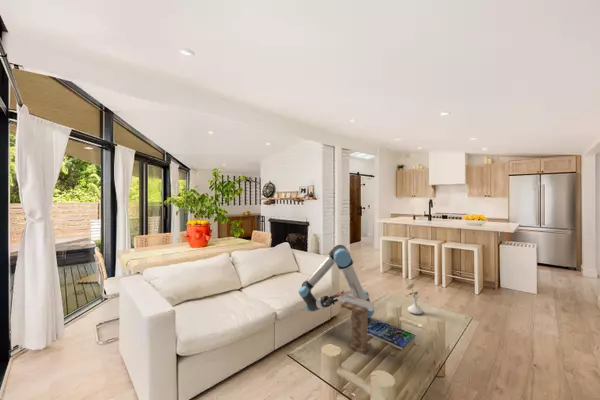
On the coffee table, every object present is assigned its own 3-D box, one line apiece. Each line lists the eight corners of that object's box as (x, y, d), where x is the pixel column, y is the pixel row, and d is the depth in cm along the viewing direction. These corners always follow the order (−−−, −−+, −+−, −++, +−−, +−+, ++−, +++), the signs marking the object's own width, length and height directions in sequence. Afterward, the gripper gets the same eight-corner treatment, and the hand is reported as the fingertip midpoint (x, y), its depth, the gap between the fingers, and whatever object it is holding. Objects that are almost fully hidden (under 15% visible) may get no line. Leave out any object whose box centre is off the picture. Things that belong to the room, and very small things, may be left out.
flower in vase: (418, 308, 229) (419, 280, 227) (425, 315, 218) (426, 285, 216) (403, 308, 229) (404, 280, 227) (409, 315, 218) (410, 285, 216)
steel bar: (335, 300, 185) (335, 294, 184) (338, 298, 188) (338, 292, 187) (371, 311, 169) (371, 305, 168) (374, 308, 172) (374, 302, 172)
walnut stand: (341, 344, 181) (341, 304, 179) (347, 337, 189) (348, 298, 186) (364, 354, 170) (365, 311, 168) (370, 346, 178) (371, 305, 176)
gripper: (334, 301, 202) (357, 293, 190) (316, 314, 183) (340, 307, 171) (330, 291, 204) (352, 283, 192) (311, 303, 184) (334, 295, 172)
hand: (346, 294), depth 181 cm, fingers open, 13 cm apart
